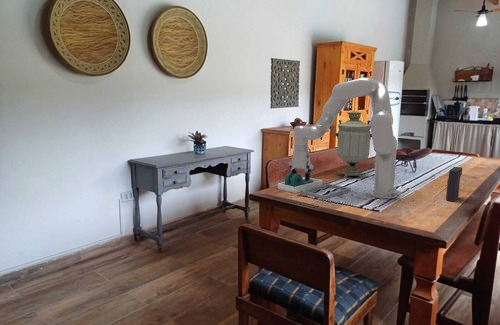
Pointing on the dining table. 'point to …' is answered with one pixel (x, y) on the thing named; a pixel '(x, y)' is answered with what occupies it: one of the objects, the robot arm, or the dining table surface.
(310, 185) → the parts tray
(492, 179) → the dining table surface
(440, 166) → the dining table surface
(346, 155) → the samovar
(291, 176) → the bracket
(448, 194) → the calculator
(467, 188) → the dining table surface
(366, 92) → the robot arm
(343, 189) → the grey rectangular frame
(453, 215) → the dining table surface
